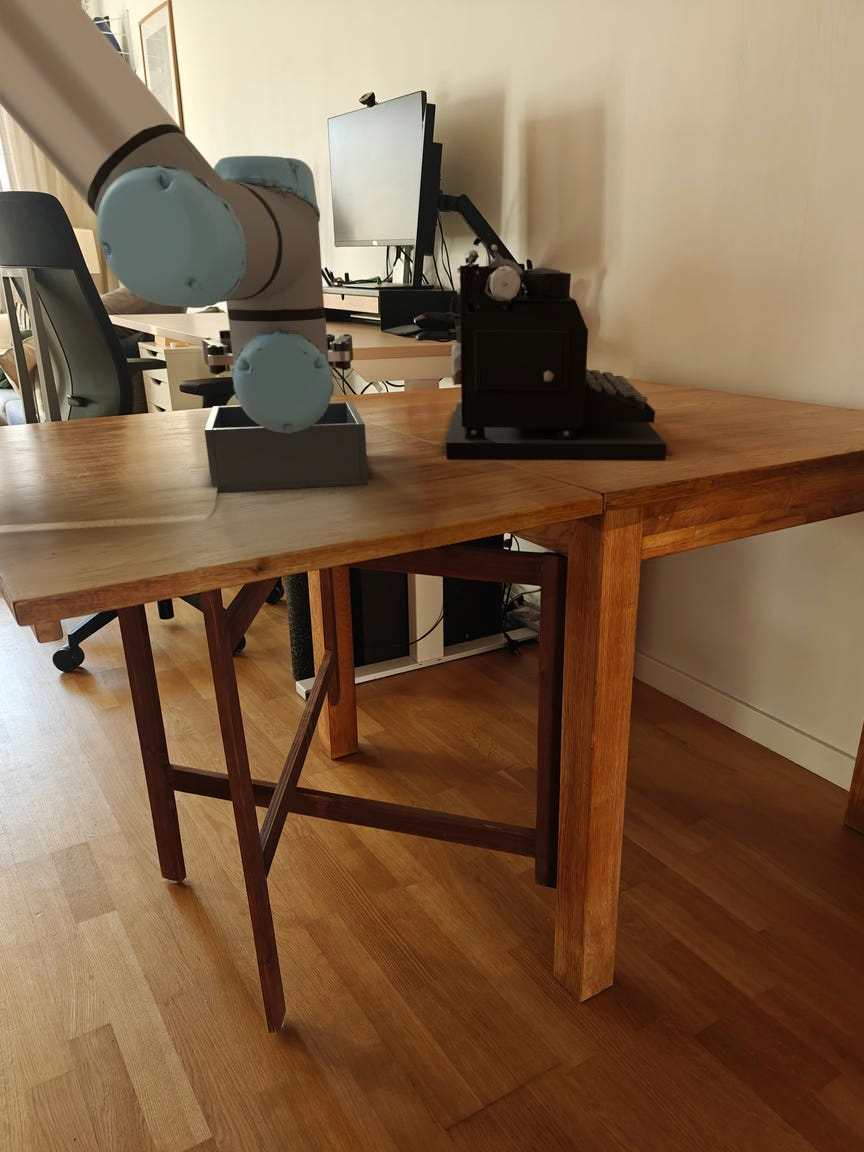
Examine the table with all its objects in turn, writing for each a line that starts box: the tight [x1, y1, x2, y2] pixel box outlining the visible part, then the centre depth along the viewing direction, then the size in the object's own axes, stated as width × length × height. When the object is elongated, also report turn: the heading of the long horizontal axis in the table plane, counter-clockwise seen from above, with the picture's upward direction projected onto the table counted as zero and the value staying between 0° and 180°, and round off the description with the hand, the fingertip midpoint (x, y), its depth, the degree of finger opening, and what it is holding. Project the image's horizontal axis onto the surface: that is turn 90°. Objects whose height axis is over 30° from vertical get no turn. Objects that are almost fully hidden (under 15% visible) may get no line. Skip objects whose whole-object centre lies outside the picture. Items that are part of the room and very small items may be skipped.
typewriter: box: [445, 237, 668, 461], centre depth 116 cm, size 31×27×25 cm
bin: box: [204, 401, 369, 493], centre depth 99 cm, size 17×16×7 cm
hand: (278, 342), depth 99 cm, fingers closed on game die, 8 cm apart
